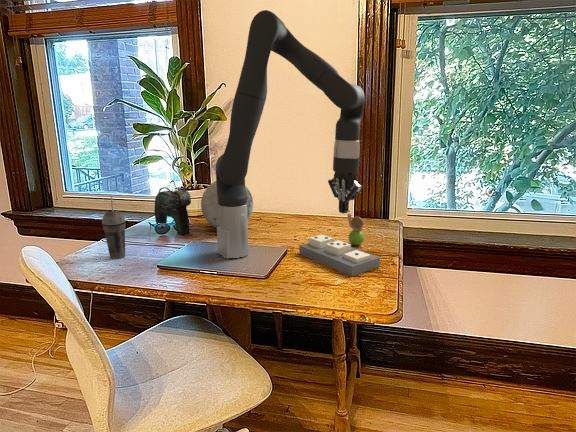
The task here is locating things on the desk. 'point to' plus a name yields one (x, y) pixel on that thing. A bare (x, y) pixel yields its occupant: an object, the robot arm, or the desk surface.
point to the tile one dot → (357, 256)
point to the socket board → (339, 260)
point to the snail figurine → (355, 230)
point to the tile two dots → (320, 241)
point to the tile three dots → (338, 248)
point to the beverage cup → (114, 232)
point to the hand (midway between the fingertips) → (343, 212)
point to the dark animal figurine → (173, 208)
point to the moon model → (211, 204)
